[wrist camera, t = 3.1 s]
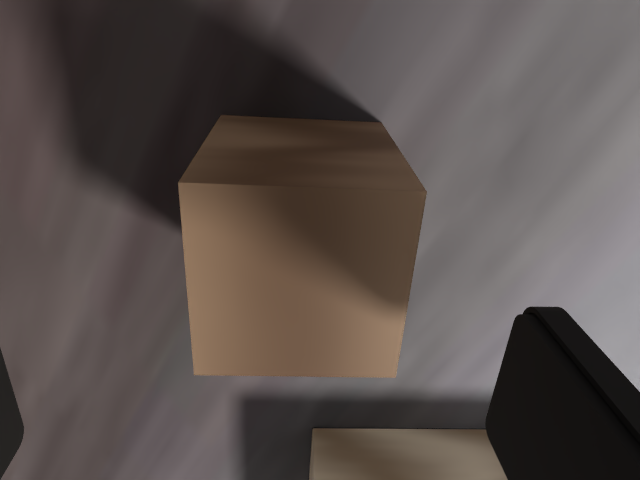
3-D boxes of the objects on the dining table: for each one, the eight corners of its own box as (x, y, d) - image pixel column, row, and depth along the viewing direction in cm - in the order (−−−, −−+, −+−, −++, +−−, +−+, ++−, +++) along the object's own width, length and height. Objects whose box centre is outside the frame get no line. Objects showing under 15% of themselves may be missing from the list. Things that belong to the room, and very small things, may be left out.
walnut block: (381, 121, 15) (426, 192, 10) (365, 259, 17) (395, 377, 12) (221, 114, 15) (177, 182, 9) (226, 256, 17) (194, 375, 12)
